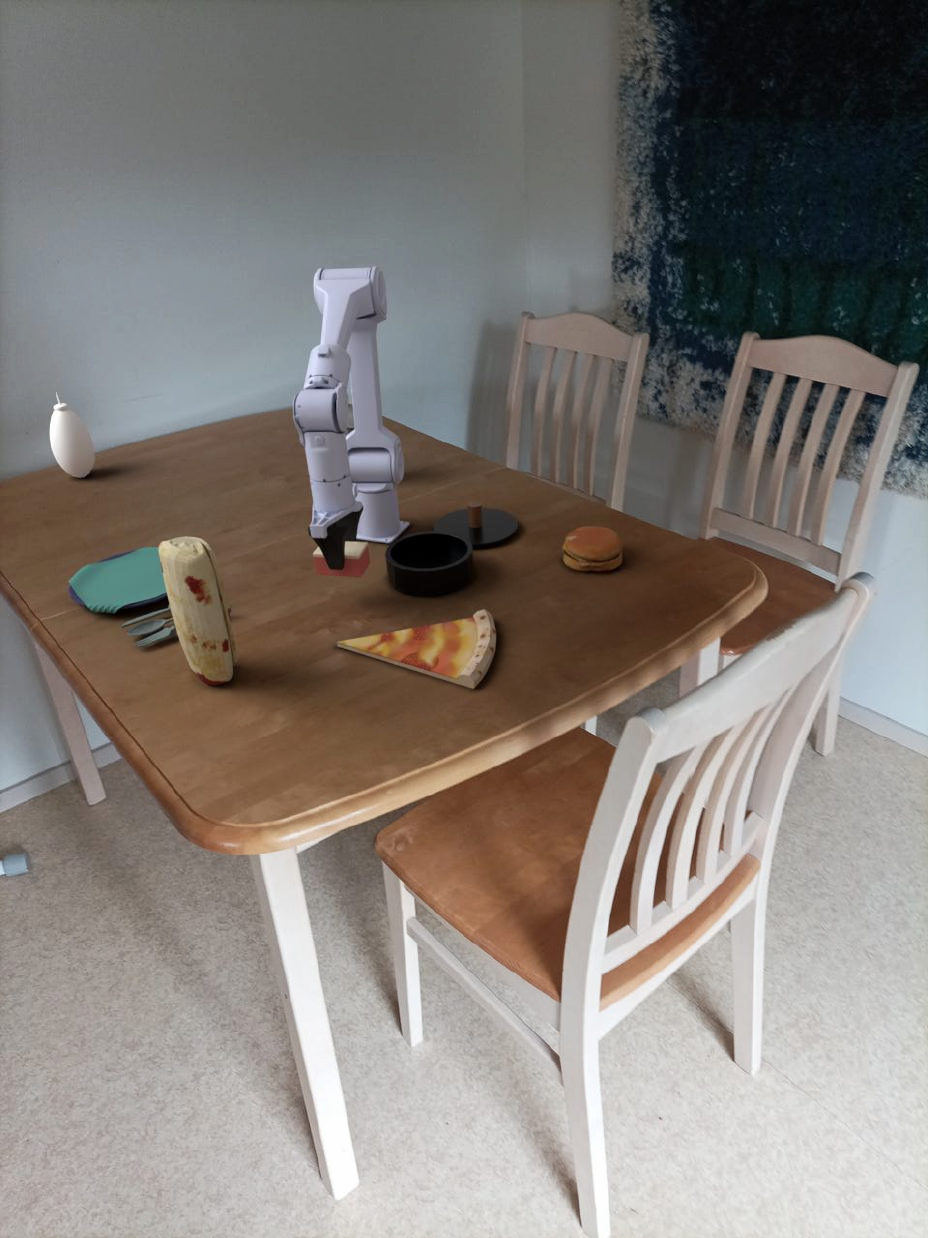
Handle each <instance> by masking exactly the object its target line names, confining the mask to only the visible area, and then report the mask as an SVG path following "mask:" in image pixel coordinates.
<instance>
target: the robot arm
mask: <svg viewBox="0 0 928 1238" xmlns="http://www.w3.org/2000/svg"><path fill="white" fill-rule="evenodd" d="M313 296H314V301H315V304H316V307H317V308H318V310H319V314H320V315H321V316H322V321H321V322H322V323H321V332H320V333H321V335H320V336H321V337H320V344H318V345H316V346H314V347H313V348H312V349H311V351H310V355H309V360H308V365H307V369H306V374H305V379H304V383H303V388H302V389H301V390H300V391H299V392H297V393H295V395H294V397H293V400H292V401H293V402H292V419H293V424H294V427H295V430H296V432H297V434H298V436H299V442H300V444H301V446H303V447H304V451H305V457H306V463H307V470H308V476H309V482H310V489H311V496H312V502H313V503H312V511H311V512H312V514H311V516H312V519H311V522H310V524H309V526H308V528H307V532H308V536H309V537H310V538H311V539H312V540H313V541H314V542H315V544H316V545H317V547H318V546H319V548H320V550H321V552H322V554H323V556H324V558H325V560H326V563H327V565H328V567H329V569H331V570H343V568H344V564H345V541H350V542H357V540H361V541H366V542H374V543H383V544H391V543H392V542H394V541H396V540H397V539H398V537H399V536H400V535H402V533H403V532H405V530H407V528H409V526H410V522H409V521H403V520H400V519H401V518H400V509H399V499H398V489H397V485H399V484H400V483H401V482H402V481H403V479H404V475H405V456H404V452H403V450H402V441H401V440H400V436H399V435H397V434H396V433H394V432H393V431H391V430H390V429H388V428H387V427H386V426H385V425H384V423H383V408H382V395H381V381H380V370H379V369H380V368H379V355H378V341H377V330H378V324H379V323H382V322H384V321H386V320H387V319H388V317H387V315H388V302H387V288H386V280H385V275H384V272H383V271H382V269H380V267H379V266H377V265H374V266H372V267H347V268H346V267H345V268H344V267H343V268H324V267H320V268H318V269H317V270H316V272H315V274H314V277H313ZM349 379H350V391H351V403H352V404H351V405H353V416H354V427H355V429H354V430H353V431H352V432H351V433H349V434H348V435H347V433H346V428H347V425H348V409H349V399H350V398H349V394H348V392H347V390H348V386H349V384H348V383H349Z"/></svg>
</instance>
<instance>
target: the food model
mask: <svg viewBox="0 0 928 1238" xmlns="http://www.w3.org/2000/svg"><path fill="white" fill-rule="evenodd" d="M158 547H159V548H158V551H159V557H160V563H161V568H162V572H163V577H164V582H165V587H166V591H167V595H168V597H167V599H168V603H169V605H170V607H171V611H172V613H171V616H172V617H173V623H174V627H176V631H177V634H176V635H177V637H178V640H179V643H180V646H181V648H182V651H183V653H184V655H185V658H186V660H187V663H188V666H189V667H190V669H191V671H192V672H193V673H194V675H195V676H196V677H197V678H198V679H199V680H200V681H202V682H203V683H204V684H207V685H210V686H220V685H222V684H225V683H228V682H230V681H231V680H232V677H233V676H234V675H233V674H234V667H235V666H236V664H237V663H238V660H239V659H238V651H237V644H236V639H235V634H234V629H233V623H232V619H231V613H229V608H228V606H229V603H228V599H227V595H226V592H225V587H224V582H223V579H222V573H221V568H220V565H219V562H218V559H217V556H216V554H215V552H214V550H213V548H211V546H210V544H209V543H208V542H206V540H204V539H202V538H201V537H196V536H186V535H185V536H179V537H173V538H171V539H168V540H162V541H161V542H160V543H159V545H158Z"/></svg>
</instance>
